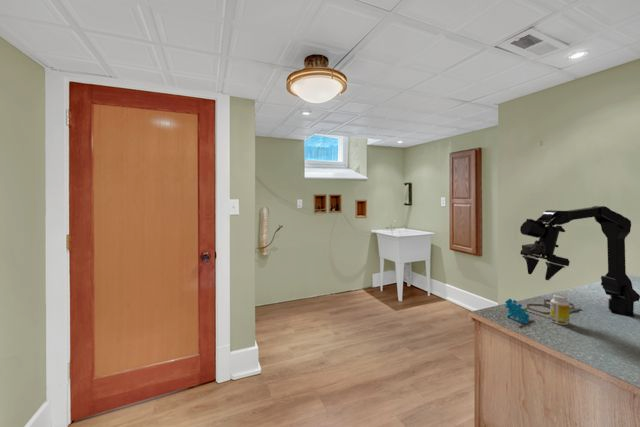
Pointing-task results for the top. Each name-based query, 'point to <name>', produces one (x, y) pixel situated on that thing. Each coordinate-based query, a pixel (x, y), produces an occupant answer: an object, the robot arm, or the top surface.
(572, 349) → the top surface
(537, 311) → the flange plate
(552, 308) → the supplement bottle
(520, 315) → the gear
